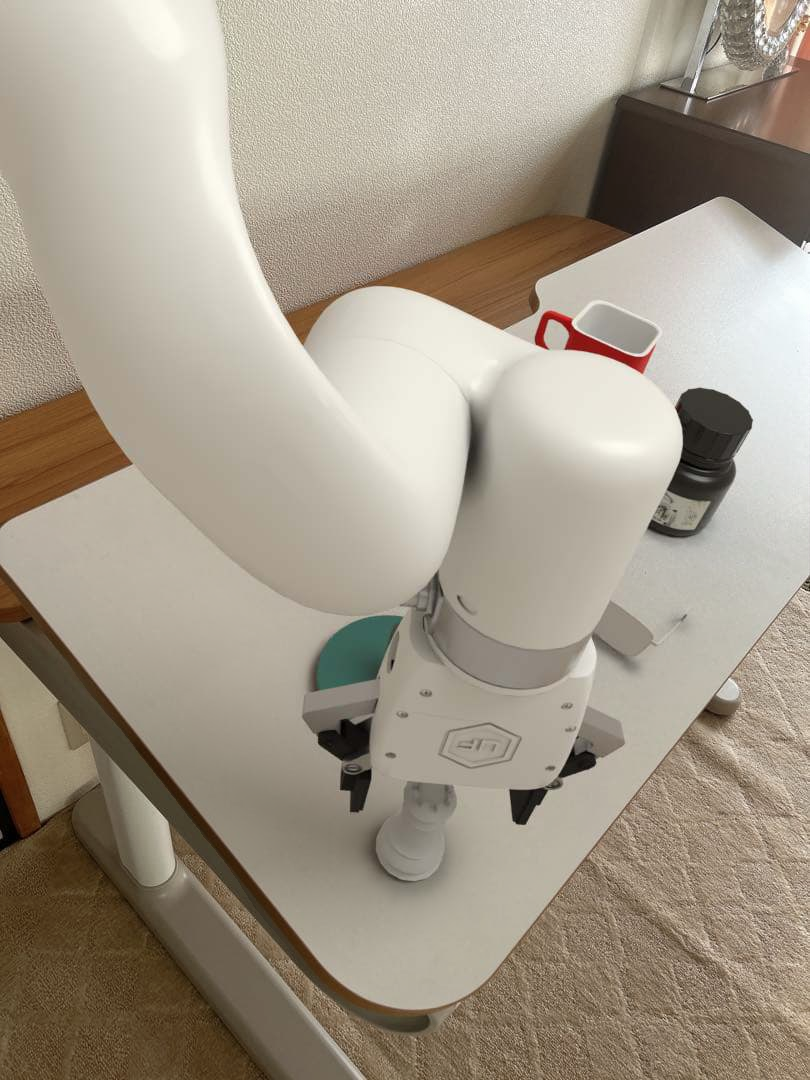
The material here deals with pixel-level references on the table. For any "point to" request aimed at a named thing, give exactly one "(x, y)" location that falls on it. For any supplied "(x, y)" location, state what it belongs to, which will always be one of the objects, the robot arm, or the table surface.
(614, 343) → the mug
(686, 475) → the ink bottle
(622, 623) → the eyeglasses
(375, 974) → the table surface
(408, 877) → the rook chess piece
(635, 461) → the robot arm
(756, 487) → the table surface
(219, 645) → the table surface
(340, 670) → the lid
